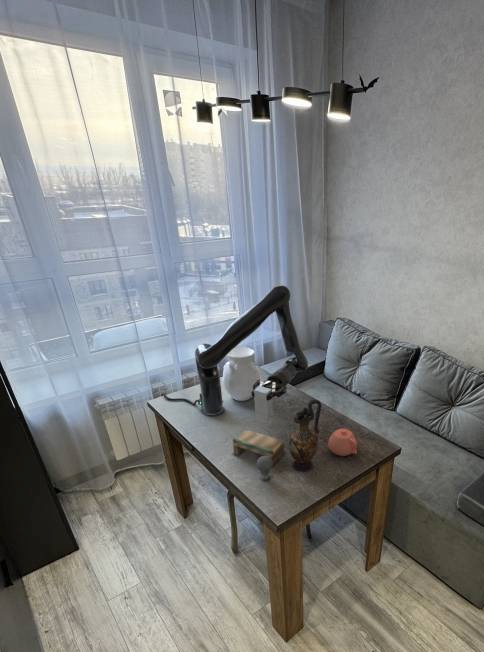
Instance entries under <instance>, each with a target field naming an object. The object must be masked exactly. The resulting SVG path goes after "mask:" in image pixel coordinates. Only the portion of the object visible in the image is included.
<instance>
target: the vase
mask: <svg viewBox="0 0 484 652" xmlns="http://www.w3.org/2000/svg"><path fill="white" fill-rule="evenodd" d="M313 405H317V408H316V411H315V413H314V410H313ZM321 412H322V402H320V400H318V399H311V400H310V401H308V403H307V407H303V408H302V410H300V411H299V412H297V413H296V414H295V415H294V417H293V421H294V423H295V424H299V426H298V428H295V429H293V430H292V431H290V433H289V434H288V438H287V445H288V450H289V453H290V456H291V458H292V459H293V460H294V463H293V468H294V469H295V470H297V471H299V472H304V471H308V470H310V469H311V467H312V463H311V461H312V459H314V457H315V456H316V454H317V451H318V447H319V436H318V435H319V434H320V430H319V420H320V415H321ZM313 420H314V426H313V429H312V428H310V427H309V426H310V425H309V424H310V423H311V421H313Z"/></svg>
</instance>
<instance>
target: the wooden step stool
mask: <svg viewBox="0 0 484 652" xmlns="http://www.w3.org/2000/svg"><path fill="white" fill-rule="evenodd" d="M232 446H233V455H235V456H240V454H242V452H244V450H246V451H250V452H253V453H257V454H259V455H262V456H268V457H270V458H271V459H272V461H273V466H274V465H275V464H276V463H277V462H278V461H279V460H280V458H281V457H282V456H284V453H285V440H282V439H278V438H275V437H271V436H268V435H266V434H261V433H258V432H255V431H251V430H248V429H246V430H245V431H243V433H241V435H239V436H238V437H237V438H236V437H235V438H234V437H233V438H232Z"/></svg>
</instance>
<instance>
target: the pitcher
mask: <svg viewBox="0 0 484 652" xmlns="http://www.w3.org/2000/svg"><path fill="white" fill-rule="evenodd" d="M225 357H226V358H227V360H228V361H227V362H225V364H224V365H223V368H222V369H223V371H222V385H223V387H224V389H225V391H226V392H227V394H228V396H230V397H231V398H233V399H234V400H235V401H238V402H245V401H248V400H251V398H253V397H252V393H251V392H252V391H253V385H254V384H255V382H256V381H257V380H260V381H261V374H260V370H259V368H258V367H257V366H256V362H253V359H254V357H255V350H253V349H252V348H250V347H247V346H236V347H235V348H234V349H233V350H231V351H230V352H229V353H228V354H227V355H226V356H225Z"/></svg>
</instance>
